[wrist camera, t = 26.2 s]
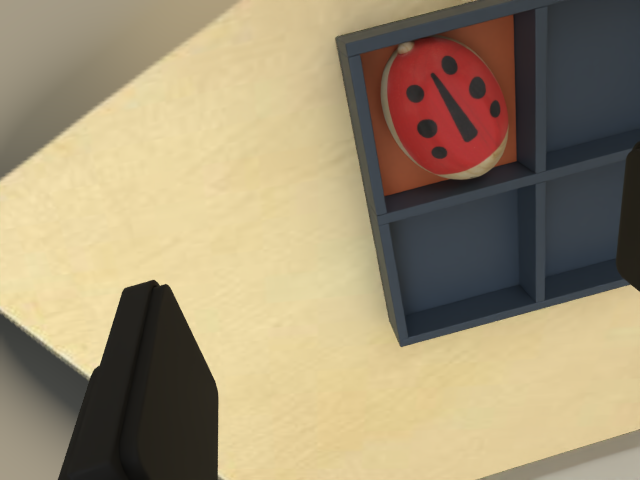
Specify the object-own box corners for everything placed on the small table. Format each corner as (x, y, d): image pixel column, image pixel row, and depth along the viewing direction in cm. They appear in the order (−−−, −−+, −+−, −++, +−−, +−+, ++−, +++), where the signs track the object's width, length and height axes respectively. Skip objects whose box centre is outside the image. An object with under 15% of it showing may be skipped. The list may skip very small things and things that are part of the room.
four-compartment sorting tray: (334, 36, 28) (345, 43, 26) (688, -55, 29) (735, -58, 26) (389, 321, 39) (400, 347, 36) (648, 251, 39) (678, 271, 37)
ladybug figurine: (439, 195, 33) (460, 217, 30) (346, 85, 29) (359, 98, 26) (522, 126, 32) (553, 143, 29) (437, -1, 28) (462, 3, 24)
